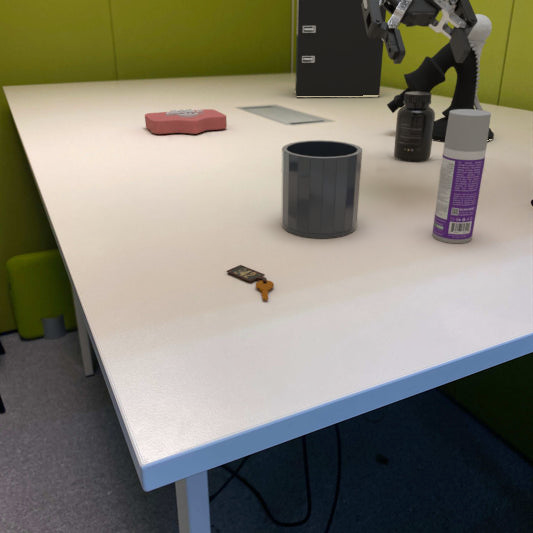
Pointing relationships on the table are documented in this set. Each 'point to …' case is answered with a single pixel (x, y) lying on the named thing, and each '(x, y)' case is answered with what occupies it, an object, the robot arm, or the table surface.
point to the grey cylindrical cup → (320, 188)
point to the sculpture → (434, 74)
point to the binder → (336, 50)
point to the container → (461, 175)
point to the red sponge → (185, 121)
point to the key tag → (253, 278)
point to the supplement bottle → (414, 128)
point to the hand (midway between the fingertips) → (432, 58)
